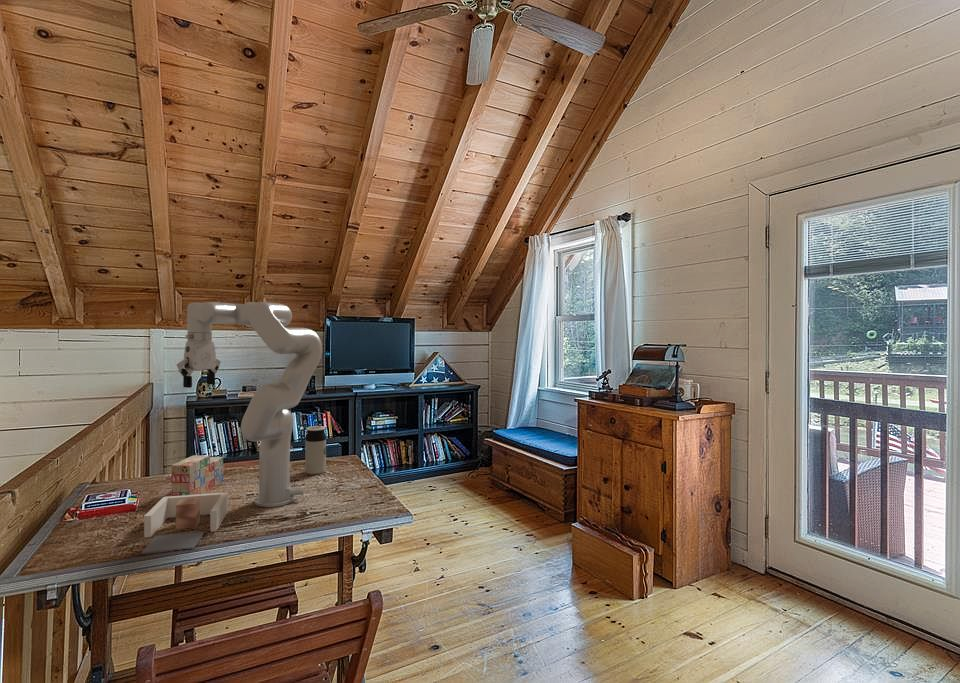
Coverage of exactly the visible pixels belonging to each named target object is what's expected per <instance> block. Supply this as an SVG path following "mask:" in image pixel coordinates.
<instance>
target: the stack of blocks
mask: <svg viewBox="0 0 960 683" xmlns="http://www.w3.org/2000/svg"><path fill="white" fill-rule="evenodd" d="M224 466H225V465H224V457H223V456H210V455H196V454H195V455H191V456H189V457H187V458H184V459H182V460H180V461H177V462H176V463H173V464H172V465H171V477H170V478H171V479H170V480H171V496H182V495H197V494H205V492H207V491H209V490H210V489H212V488H214V487H215V486H217V485H219V484H221V483H223V482H224Z"/></svg>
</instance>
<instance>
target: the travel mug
mask: <svg viewBox="0 0 960 683" xmlns="http://www.w3.org/2000/svg"><path fill="white" fill-rule="evenodd" d="M326 429H327V428H326V426H322V425H313V426H308V427H306V429H305V430H306V434H305V436H304V437H305V441H304V442H305V447H304V448H305V451H304V452H305V455H304V456H305V459H304V461H305V462H304V465H305V466H304V468H305V469H304V472H305V473H306V474H308V475H320V474H322V473H325V472H326V470H327V433H326V432H325V430H326ZM319 473H320V474H319Z"/></svg>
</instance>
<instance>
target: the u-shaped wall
mask: <svg viewBox="0 0 960 683" xmlns="http://www.w3.org/2000/svg"><path fill="white" fill-rule="evenodd" d="M192 498H200V516H203V515H205V516H206V515H209V516H210V518H209V519H210V524H209V526H210V528H209V529H210V530H209V532H210V533H211V532H217V531H218V530H219V527H220V526H221V524H222V523H223V520H224V519H225V518H226V516H227V514H228V512H229V492H214V493H202V494H197V495H182V496H172V495H169V496H163V497H162V498H161V499H160V500H159V501H158V502H157V503H156V504H155V505H153V507H152V508H151V509H150V510H149V511H148V512H147V513H146V514H144V517H143V519H144V520H143V521H144V522H143V527H144V528H143V529H144V531H143V535H144V536H143V537H144V538H152V536H154V534H155V533H156V532H157V531H158V530H159V528H160V527H161V526H162V525H163V524H164V523H165V521H166V520H167V519H168V518H169V519H170V518H176V505H177V503H178V502H179V501H180V500H181V499H192ZM225 515H226V516H225ZM221 522H222V523H221ZM217 529H218V530H217Z"/></svg>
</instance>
